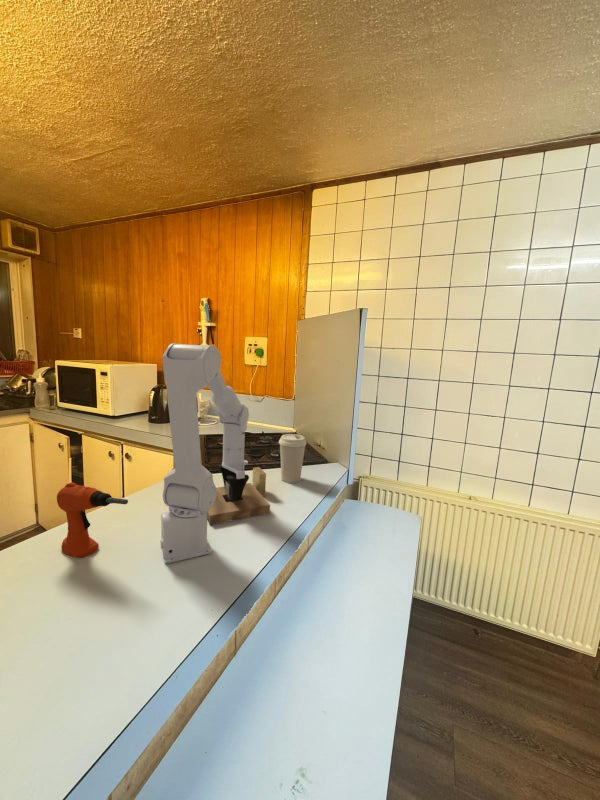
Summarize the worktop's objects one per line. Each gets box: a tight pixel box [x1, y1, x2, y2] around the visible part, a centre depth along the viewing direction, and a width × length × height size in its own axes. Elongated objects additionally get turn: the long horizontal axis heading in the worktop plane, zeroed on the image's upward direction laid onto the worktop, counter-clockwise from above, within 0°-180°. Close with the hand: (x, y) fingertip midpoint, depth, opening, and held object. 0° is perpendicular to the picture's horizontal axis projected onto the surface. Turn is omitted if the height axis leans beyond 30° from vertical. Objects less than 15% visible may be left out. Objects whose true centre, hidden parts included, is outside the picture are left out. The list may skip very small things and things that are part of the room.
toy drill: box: [56, 481, 129, 559], centre depth 67 cm, size 5×19×15 cm, turn 70°
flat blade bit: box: [251, 466, 267, 497], centre depth 102 cm, size 2×6×7 cm, turn 27°
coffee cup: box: [278, 433, 308, 484], centre depth 113 cm, size 10×10×15 cm
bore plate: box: [207, 482, 271, 526], centre depth 93 cm, size 16×16×2 cm
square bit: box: [225, 480, 242, 502], centre depth 93 cm, size 4×4×7 cm
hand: (232, 494), depth 93 cm, fingers open, 7 cm apart
